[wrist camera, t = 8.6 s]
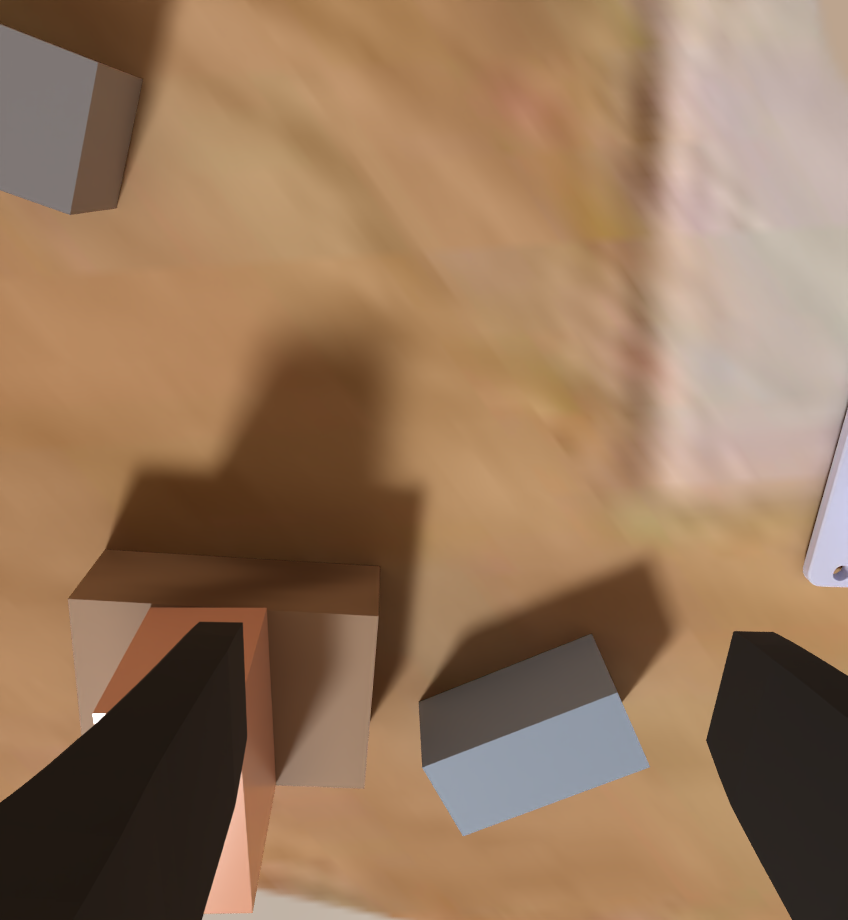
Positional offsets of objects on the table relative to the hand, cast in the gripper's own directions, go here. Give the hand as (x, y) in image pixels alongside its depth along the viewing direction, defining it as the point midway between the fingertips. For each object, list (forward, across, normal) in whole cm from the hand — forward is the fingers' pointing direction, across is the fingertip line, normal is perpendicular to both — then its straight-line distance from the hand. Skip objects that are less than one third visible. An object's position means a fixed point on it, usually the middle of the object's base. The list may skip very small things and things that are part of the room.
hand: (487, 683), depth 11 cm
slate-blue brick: (+11, -3, +9) cm, 14 cm away
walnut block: (+11, +6, +7) cm, 14 cm away
